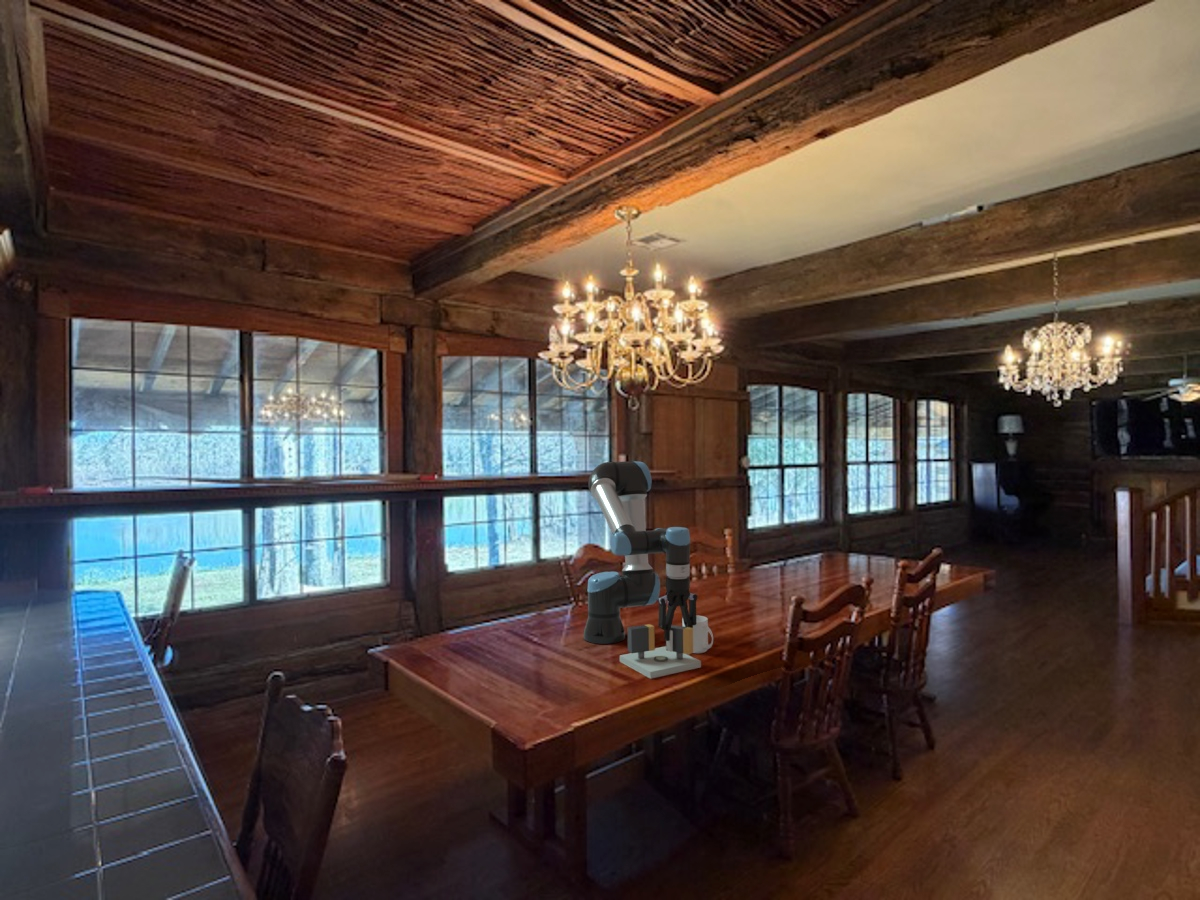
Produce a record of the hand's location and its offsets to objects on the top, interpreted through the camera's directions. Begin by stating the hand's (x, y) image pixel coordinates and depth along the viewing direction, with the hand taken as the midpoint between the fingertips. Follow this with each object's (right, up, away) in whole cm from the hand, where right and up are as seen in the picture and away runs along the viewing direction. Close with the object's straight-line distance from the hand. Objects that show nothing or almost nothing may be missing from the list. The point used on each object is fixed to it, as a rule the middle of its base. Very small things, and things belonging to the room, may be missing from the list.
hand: (677, 648), depth 203 cm
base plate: (-6, -5, +1) cm, 8 cm away
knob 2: (+1, -3, -1) cm, 3 cm away
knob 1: (-11, -3, +1) cm, 12 cm away
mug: (+9, -5, +13) cm, 17 cm away
